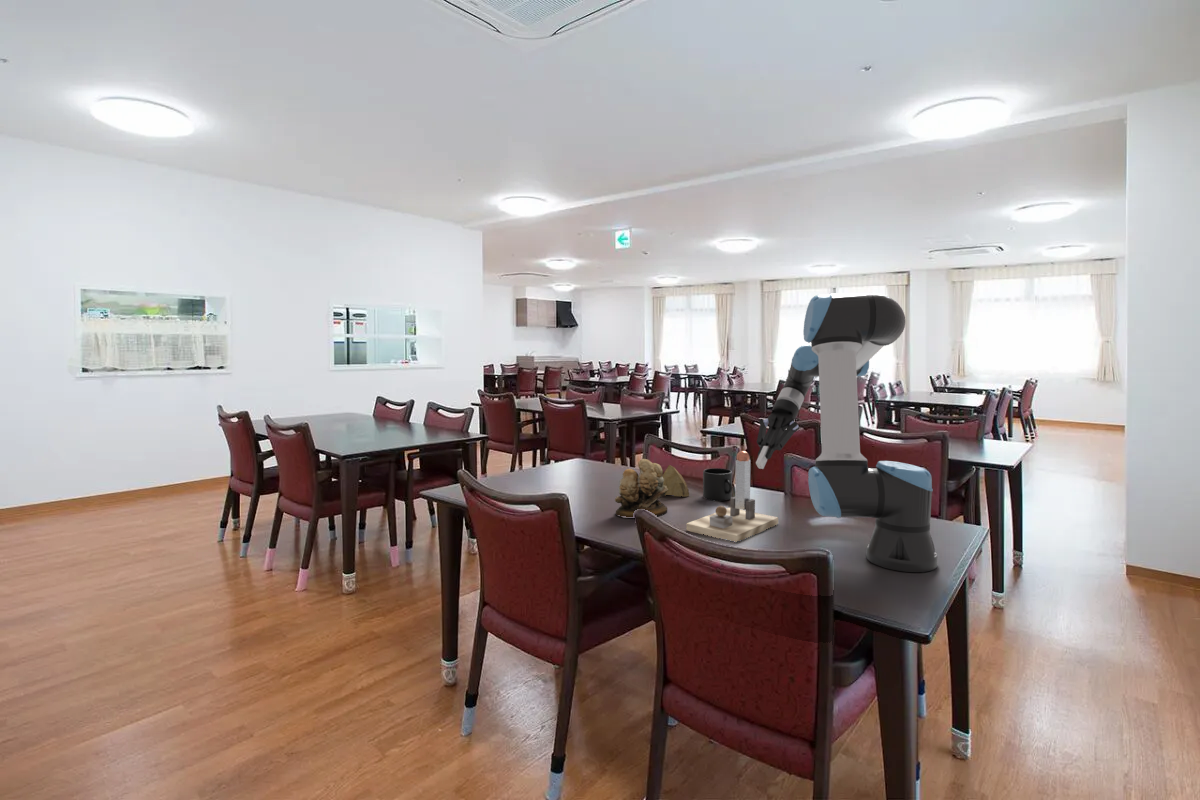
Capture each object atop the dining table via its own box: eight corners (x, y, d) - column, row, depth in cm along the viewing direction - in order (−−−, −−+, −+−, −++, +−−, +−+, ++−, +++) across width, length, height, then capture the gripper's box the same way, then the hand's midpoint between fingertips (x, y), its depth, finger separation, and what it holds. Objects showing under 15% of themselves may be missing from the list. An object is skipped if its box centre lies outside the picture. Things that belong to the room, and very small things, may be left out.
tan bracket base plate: (729, 513, 188) (730, 489, 187) (778, 524, 176) (778, 498, 176) (686, 530, 172) (686, 504, 171) (736, 543, 161) (736, 515, 160)
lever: (740, 505, 180) (740, 449, 178) (751, 507, 177) (752, 450, 176) (733, 508, 177) (734, 451, 176) (744, 510, 175) (745, 452, 173)
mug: (719, 504, 198) (720, 476, 198) (697, 496, 209) (697, 470, 208) (742, 500, 203) (743, 473, 202) (719, 492, 213) (719, 467, 213)
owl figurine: (656, 504, 200) (656, 452, 198) (677, 513, 189) (678, 458, 188) (607, 512, 191) (607, 458, 189) (627, 522, 181) (628, 464, 179)
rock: (698, 489, 209) (681, 479, 218) (687, 471, 205) (670, 462, 214) (675, 511, 207) (659, 500, 215) (663, 493, 203) (647, 483, 211)
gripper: (811, 414, 192) (783, 476, 182) (773, 411, 201) (744, 470, 191) (803, 399, 188) (774, 461, 178) (764, 396, 197) (735, 455, 187)
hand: (759, 466), depth 184 cm, fingers closed
